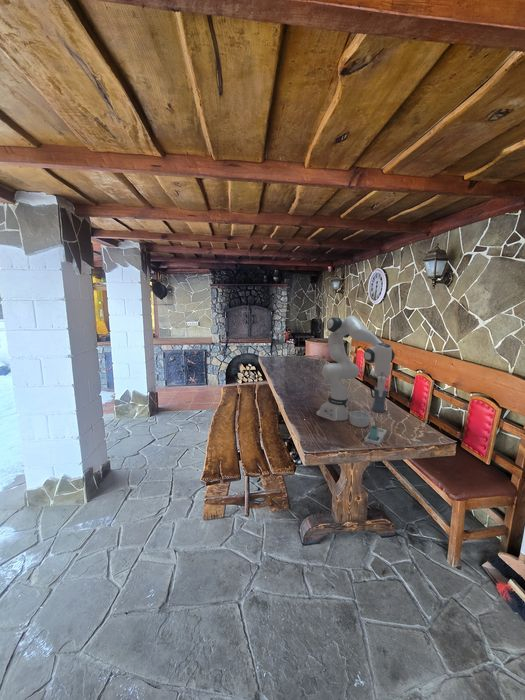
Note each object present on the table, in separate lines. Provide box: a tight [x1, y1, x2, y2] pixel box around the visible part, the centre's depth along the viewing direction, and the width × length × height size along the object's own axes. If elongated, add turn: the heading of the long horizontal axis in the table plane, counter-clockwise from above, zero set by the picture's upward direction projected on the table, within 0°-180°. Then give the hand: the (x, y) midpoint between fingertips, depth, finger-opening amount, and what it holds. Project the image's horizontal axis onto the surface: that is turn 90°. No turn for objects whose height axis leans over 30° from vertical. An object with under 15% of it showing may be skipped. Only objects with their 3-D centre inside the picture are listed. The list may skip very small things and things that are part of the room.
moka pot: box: [369, 385, 390, 414], centre depth 211 cm, size 10×15×20 cm, turn 39°
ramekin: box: [348, 410, 371, 428], centre depth 187 cm, size 13×13×7 cm
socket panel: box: [363, 427, 388, 446], centre depth 169 cm, size 8×20×2 cm, turn 145°
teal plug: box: [369, 424, 379, 441], centre depth 164 cm, size 4×4×9 cm
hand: (381, 394), depth 165 cm, fingers open, 8 cm apart
